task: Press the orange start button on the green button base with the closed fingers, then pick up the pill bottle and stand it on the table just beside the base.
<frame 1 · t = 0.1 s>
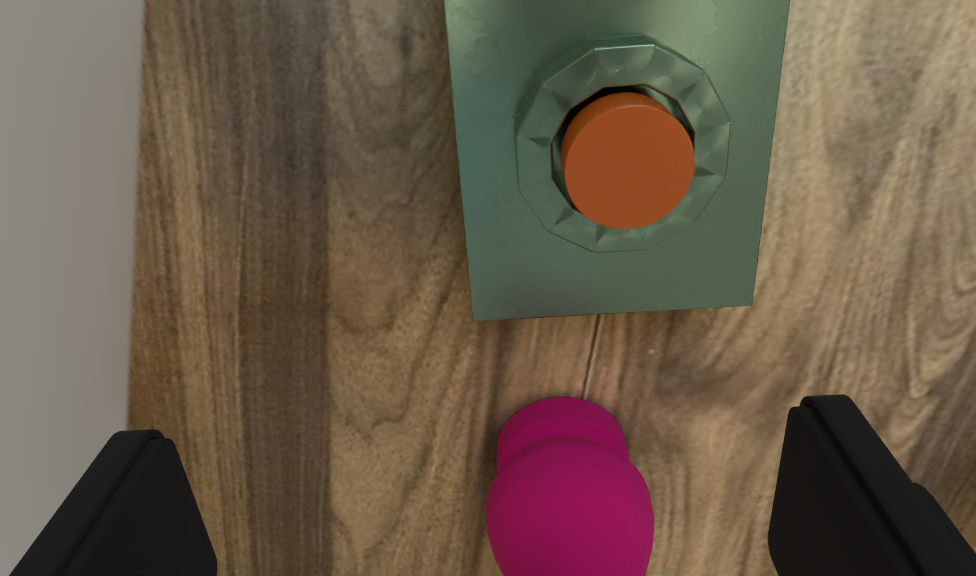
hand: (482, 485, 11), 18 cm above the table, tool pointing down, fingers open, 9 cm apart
green button base: (603, 120, 27), on the table
pepper mill: (560, 443, 34), on the table
start button: (624, 161, 22), point 5 cm above the table, slide at 0.1 cm
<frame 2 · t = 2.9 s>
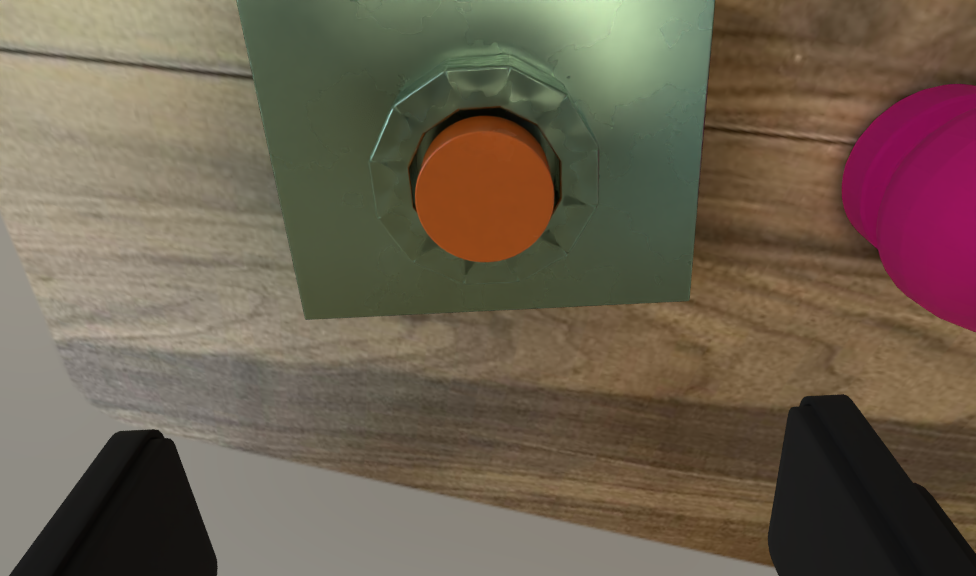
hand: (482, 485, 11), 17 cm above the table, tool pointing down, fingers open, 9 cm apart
green button base: (486, 141, 25), on the table
pepper mill: (924, 168, 26), on the table
start button: (484, 189, 21), point 5 cm above the table, slide at 0.1 cm
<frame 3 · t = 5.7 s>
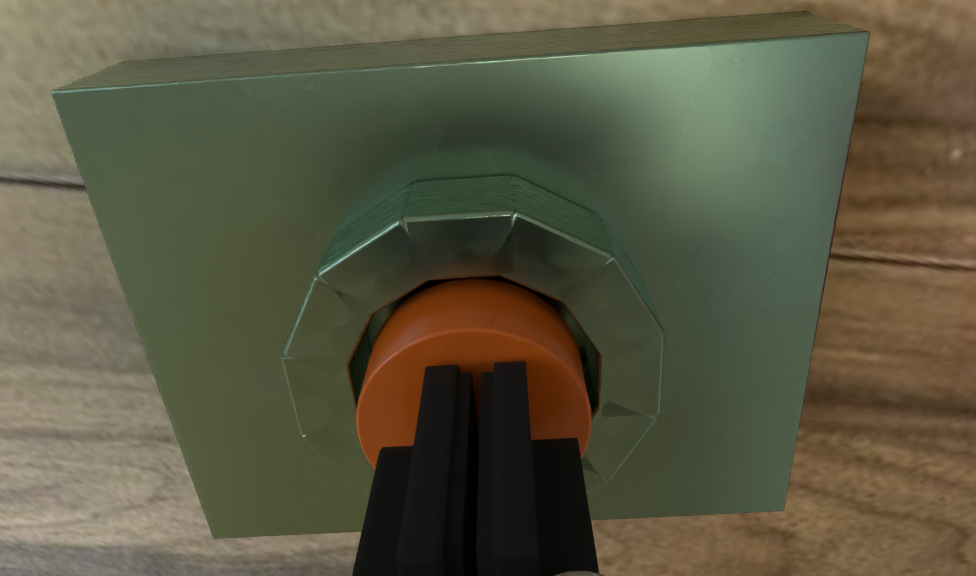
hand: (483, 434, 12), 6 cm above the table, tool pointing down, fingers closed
green button base: (478, 275, 17), on the table
start button: (474, 398, 13), point 5 cm above the table, slide at -0.1 cm, touching gripper
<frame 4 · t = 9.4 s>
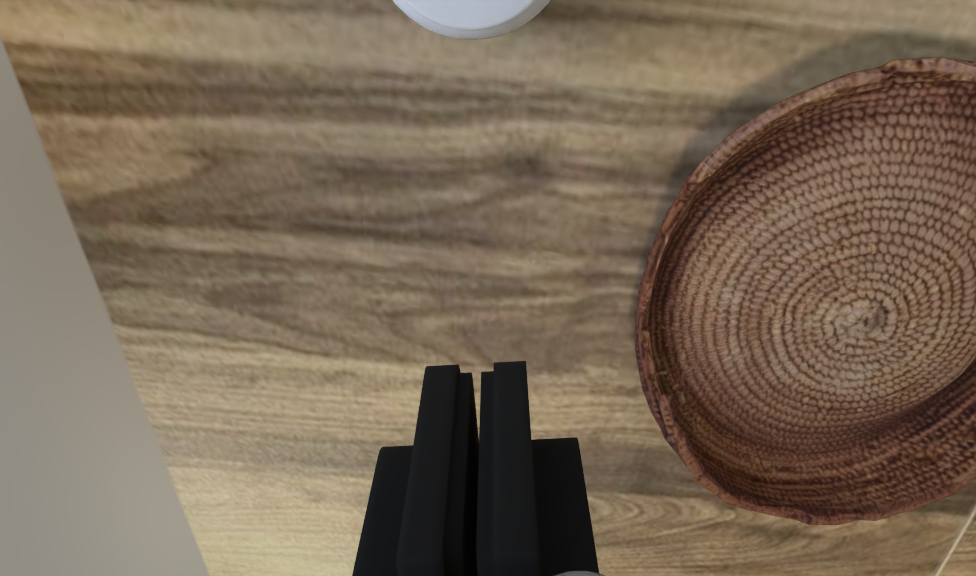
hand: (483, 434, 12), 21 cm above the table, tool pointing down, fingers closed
basket: (837, 281, 34), on the table
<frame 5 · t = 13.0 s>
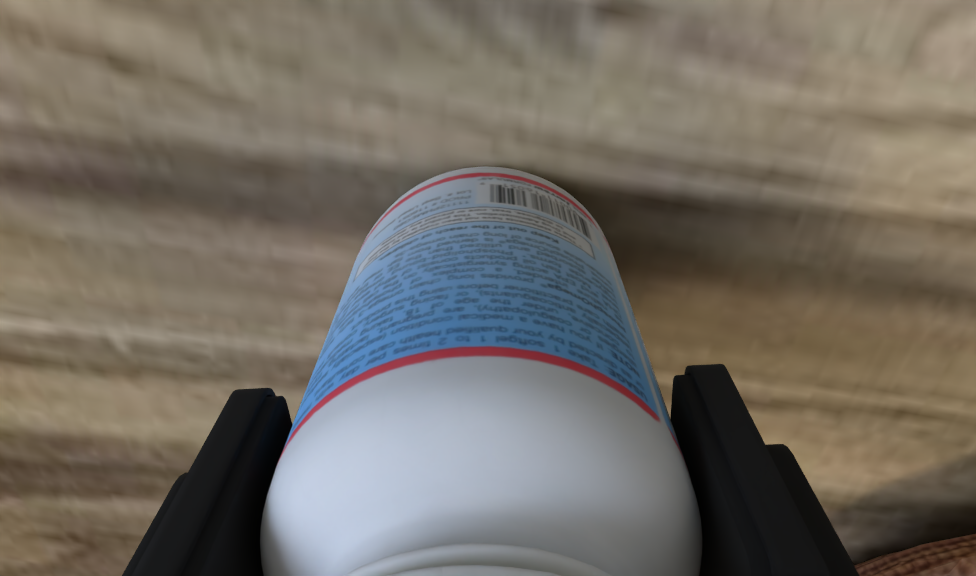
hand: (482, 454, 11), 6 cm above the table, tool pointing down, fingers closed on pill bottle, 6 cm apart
pill bottle: (486, 278, 17), on the table, touching gripper
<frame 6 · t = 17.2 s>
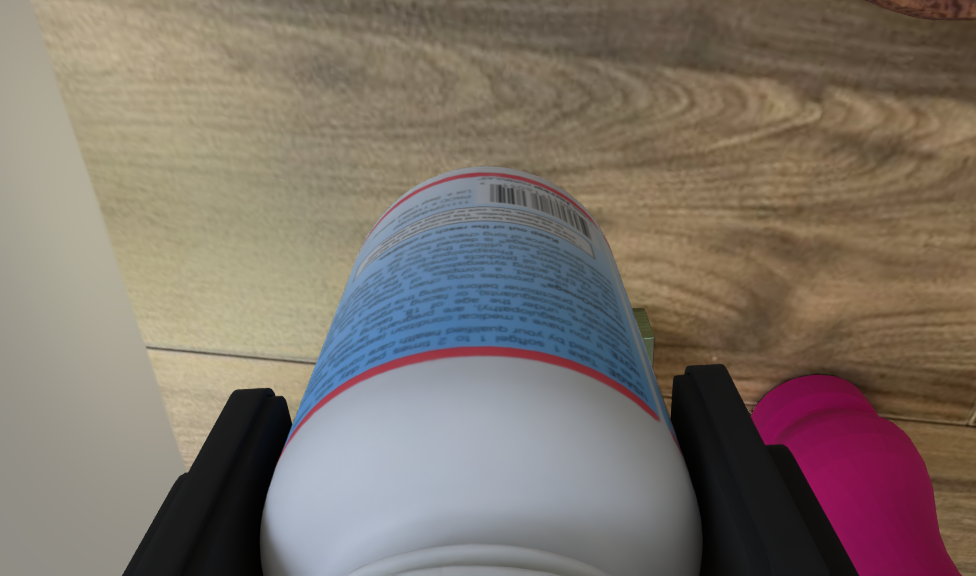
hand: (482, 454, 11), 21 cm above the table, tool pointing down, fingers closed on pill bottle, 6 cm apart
green button base: (508, 403, 37), on the table
pepper mill: (804, 418, 38), on the table
pill bottle: (486, 278, 17), point 15 cm above the table, touching gripper
when the fingers open (6 cm above the table, at t = 21.4 s): pill bottle stays where it is, on the table.
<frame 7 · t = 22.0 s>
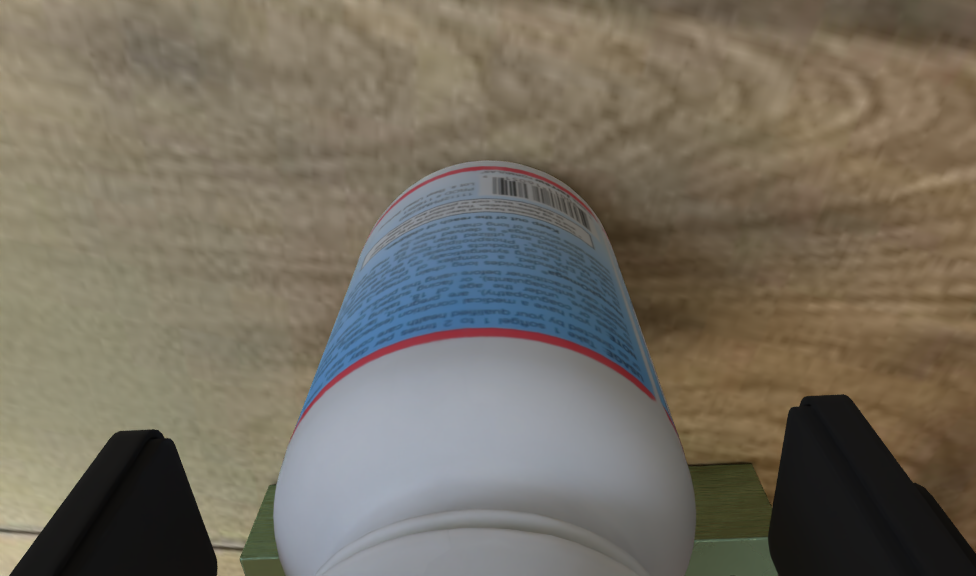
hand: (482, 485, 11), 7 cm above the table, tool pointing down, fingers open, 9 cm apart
pill bottle: (488, 270, 17), on the table
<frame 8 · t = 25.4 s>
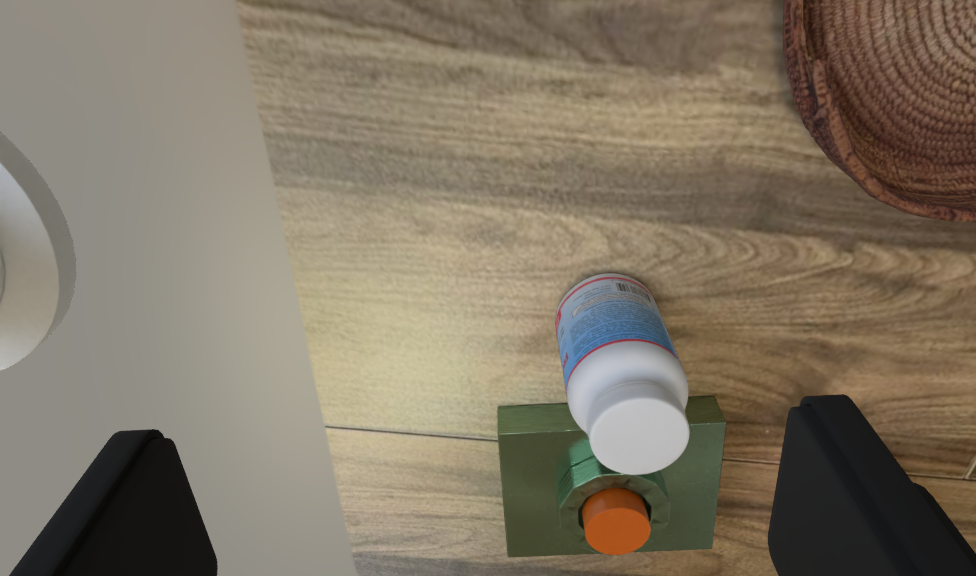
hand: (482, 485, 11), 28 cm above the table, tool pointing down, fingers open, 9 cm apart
green button base: (604, 465, 48), on the table
start button: (615, 521, 43), point 5 cm above the table, slide at 0.1 cm
pill bottle: (604, 313, 42), on the table
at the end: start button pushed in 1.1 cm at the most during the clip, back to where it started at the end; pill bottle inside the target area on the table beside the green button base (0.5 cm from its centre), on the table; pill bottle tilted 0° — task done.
